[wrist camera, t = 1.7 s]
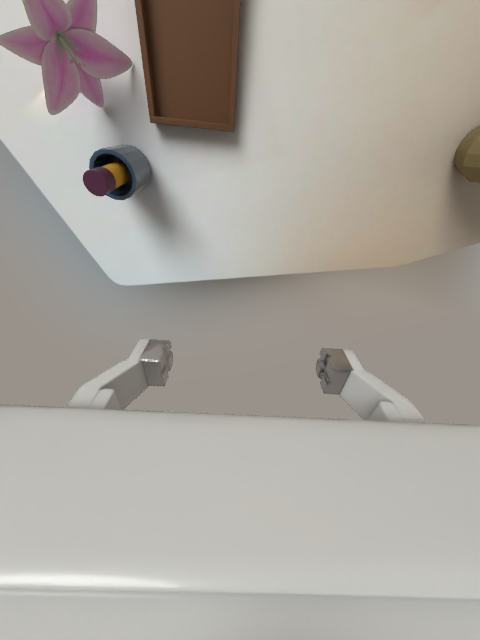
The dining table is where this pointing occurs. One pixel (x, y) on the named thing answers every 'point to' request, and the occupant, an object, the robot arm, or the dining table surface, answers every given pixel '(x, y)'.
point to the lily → (66, 50)
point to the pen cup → (134, 162)
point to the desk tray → (190, 61)
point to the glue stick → (106, 178)
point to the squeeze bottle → (469, 156)
